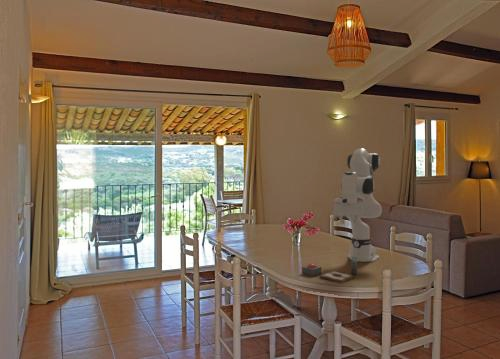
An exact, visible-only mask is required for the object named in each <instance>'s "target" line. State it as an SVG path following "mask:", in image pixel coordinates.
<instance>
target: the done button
mask: <svg viewBox="0 0 500 359" xmlns="http://www.w3.org/2000/svg"><path fill="white" fill-rule="evenodd" d="M315 266H316V264H315V263H308V268H315Z"/></svg>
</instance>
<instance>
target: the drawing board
mask: <svg viewBox="0 0 500 359" xmlns="http://www.w3.org/2000/svg"><path fill="white" fill-rule="evenodd" d="M318 276H319V279H323V280H327V281H331V282H336V283H339V284H342V283H345V282H347V281H350V280H352V279H355V276H354V275H351V274H349V273H343V272H340V271H337V270H336V271H335V270H332V271H328V272H327V273H323V274H319V275H318Z"/></svg>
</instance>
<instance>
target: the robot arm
mask: <svg viewBox="0 0 500 359" xmlns="http://www.w3.org/2000/svg"><path fill="white" fill-rule="evenodd" d="M346 165H347V168H349V171H345V172H343V174H342V177H341V182H340V183H341V186H340V187H341V190H342V191H341V195H340V196H338V197H336V198H334V199H333V202H334V204H333V206H332V207H333V208H332V210H333V211H332V215H334V216H335V217H338V219H339V220H340V221H339V223H340V224H341V225H342V224H343V225H344V224H345V220H344V219H343V217H346V218H347V219H348V220H349V221H350V224H351V229H352V230H351V231H352V236H351V240H350V241H351V244H350V245H349V253H348V255H347V258H349V260H351V257H357V262H362V263H364V262H365V263H367V262H368V263H369V262H370V263H371V262H372V263H373V262H375V261H377V260H378V259H380V256H379V255H378V254H376V252H377V250H376V247H374V246H373V245H372V242H373V237H371V238H370V232H371V230H370V229H371V228H370V226H369V225H368V223H366V222H364V221H362V219H363V218H364V219H365V218H366V219H375V218H379V217H380V216H381V215H382V212H383V207H382V205H381V204H380V203H379V202H378V201H377V200H376V199H375V198H374V195H373V192H374V191H375V188H376V187H375V186H376V184H375V180H374V175H373V174H374V172H376V170H378V169H379V168H380V165H381V157H380V155H379V154H378V153H374V152H373V153H369V151H367V149H365V148H357V149H355V150H354V152H353V153H351V154H349V155H348V156H347V159H346ZM358 198H359V199H358ZM361 218H362V219H361Z"/></svg>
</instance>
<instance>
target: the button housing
mask: <svg viewBox="0 0 500 359" xmlns="http://www.w3.org/2000/svg"><path fill="white" fill-rule="evenodd" d="M301 274H302V275H306V276H310V277H317V276H320V275H322V266H319V265H315V268H308V265H305V266H304V265H303V266H301Z"/></svg>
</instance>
